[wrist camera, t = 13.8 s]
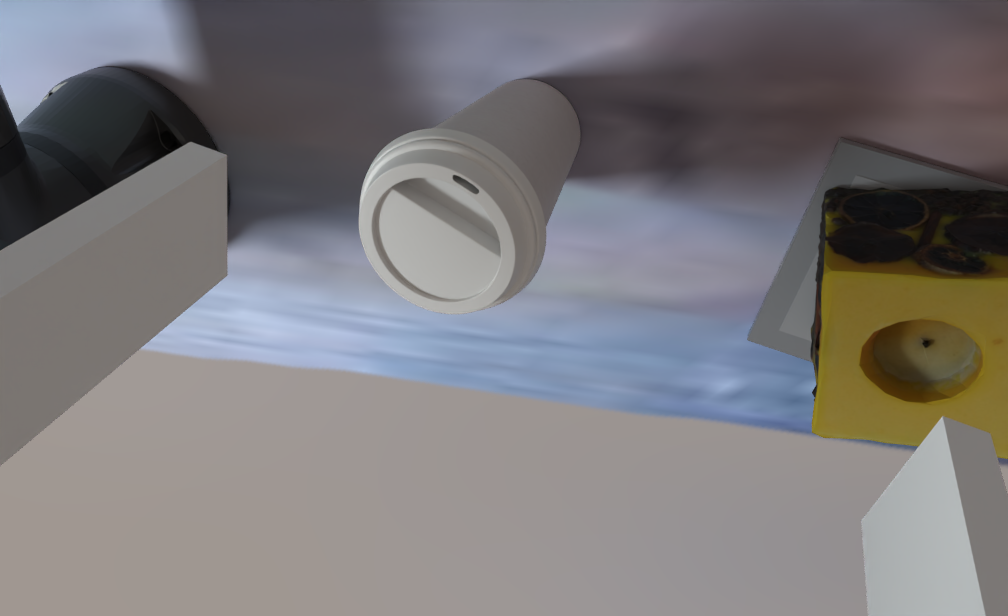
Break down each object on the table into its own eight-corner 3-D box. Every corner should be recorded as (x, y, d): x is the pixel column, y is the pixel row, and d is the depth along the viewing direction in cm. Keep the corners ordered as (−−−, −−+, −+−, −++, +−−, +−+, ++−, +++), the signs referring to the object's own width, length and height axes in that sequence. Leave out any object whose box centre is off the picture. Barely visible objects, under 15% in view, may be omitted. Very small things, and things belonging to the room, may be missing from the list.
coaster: (747, 334, 51) (747, 340, 50) (840, 137, 43) (840, 142, 42) (969, 409, 49) (970, 416, 48) (1111, 216, 40) (1115, 222, 40)
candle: (996, 348, 45) (1033, 466, 38) (809, 336, 49) (807, 442, 41) (1033, 184, 40) (1085, 282, 32) (821, 184, 44) (821, 271, 36)
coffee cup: (637, 152, 47) (575, 275, 35) (520, 227, 52) (432, 356, 40) (540, 18, 45) (438, 102, 33) (428, 111, 50) (305, 212, 38)
